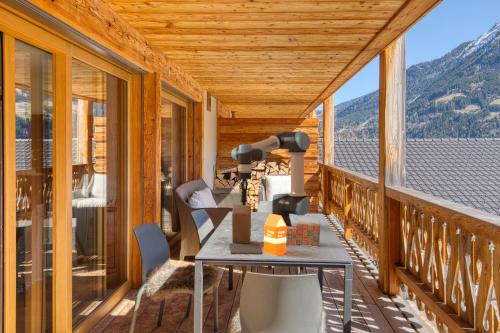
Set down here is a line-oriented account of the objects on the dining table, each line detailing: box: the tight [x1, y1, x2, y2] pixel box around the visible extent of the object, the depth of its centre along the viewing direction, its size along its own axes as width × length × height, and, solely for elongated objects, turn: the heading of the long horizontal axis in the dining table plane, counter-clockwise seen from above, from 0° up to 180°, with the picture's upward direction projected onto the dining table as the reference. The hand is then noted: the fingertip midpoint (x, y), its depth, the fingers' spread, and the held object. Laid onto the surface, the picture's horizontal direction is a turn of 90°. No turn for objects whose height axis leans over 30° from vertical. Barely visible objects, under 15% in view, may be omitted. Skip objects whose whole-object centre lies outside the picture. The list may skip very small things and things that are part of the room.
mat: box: [229, 242, 263, 255], centre depth 234 cm, size 16×20×1 cm
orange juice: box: [263, 213, 287, 256], centre depth 227 cm, size 8×9×20 cm
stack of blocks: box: [286, 221, 321, 247], centre depth 248 cm, size 21×6×12 cm, turn 74°
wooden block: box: [231, 204, 252, 244], centre depth 245 cm, size 10×10×20 cm
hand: (243, 213), depth 248 cm, fingers closed
